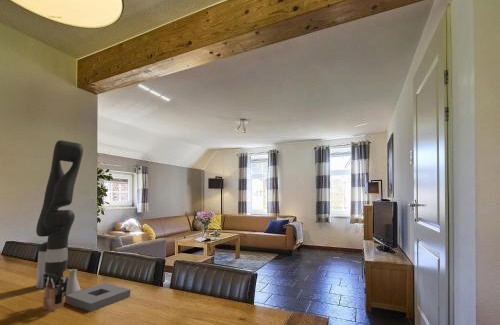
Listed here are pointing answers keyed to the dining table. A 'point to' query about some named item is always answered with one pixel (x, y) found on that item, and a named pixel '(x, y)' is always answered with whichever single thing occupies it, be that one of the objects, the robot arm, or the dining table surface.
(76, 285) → the flask
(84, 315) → the dining table surface
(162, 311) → the dining table surface
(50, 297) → the terracotta block
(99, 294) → the charcoal base
